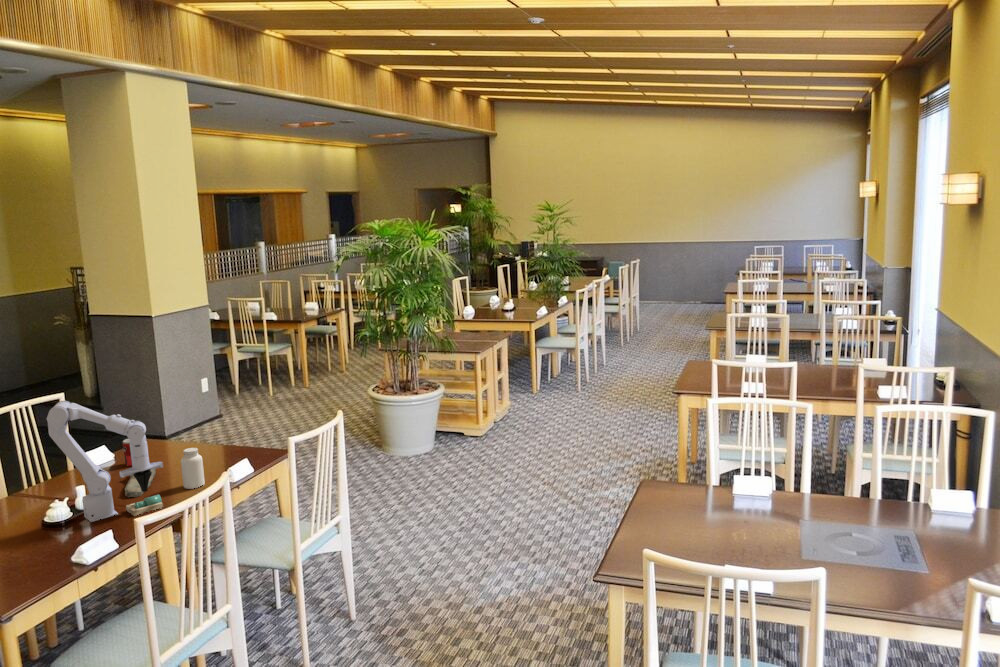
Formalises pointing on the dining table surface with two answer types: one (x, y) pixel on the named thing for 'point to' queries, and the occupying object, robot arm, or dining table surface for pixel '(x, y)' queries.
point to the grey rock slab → (136, 486)
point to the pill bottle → (192, 469)
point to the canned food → (127, 452)
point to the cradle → (136, 512)
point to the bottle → (148, 501)
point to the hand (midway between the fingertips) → (144, 491)
